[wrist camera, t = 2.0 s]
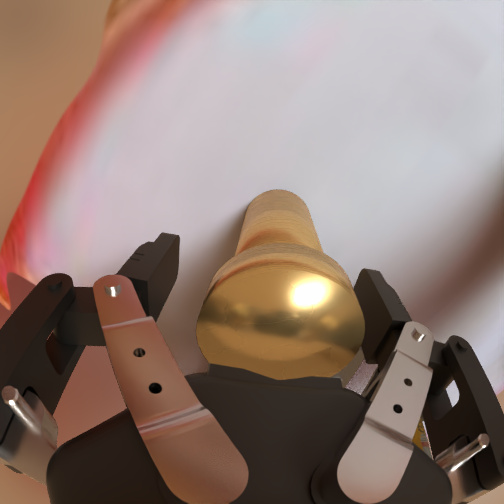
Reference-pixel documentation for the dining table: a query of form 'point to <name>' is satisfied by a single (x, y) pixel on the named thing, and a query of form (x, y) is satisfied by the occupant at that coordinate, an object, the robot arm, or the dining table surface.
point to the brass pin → (280, 298)
